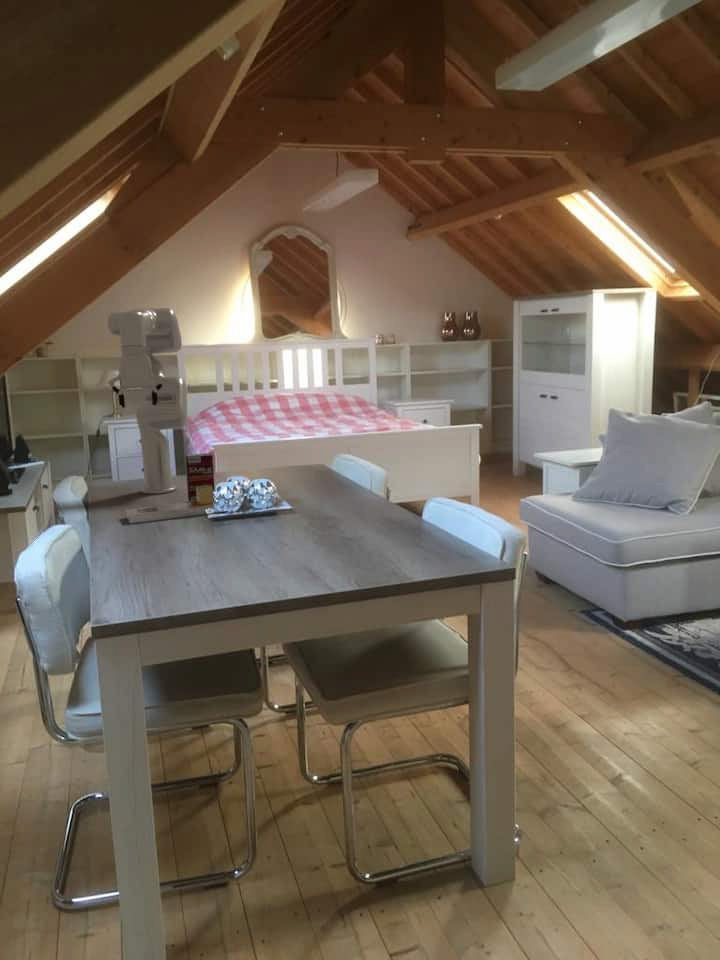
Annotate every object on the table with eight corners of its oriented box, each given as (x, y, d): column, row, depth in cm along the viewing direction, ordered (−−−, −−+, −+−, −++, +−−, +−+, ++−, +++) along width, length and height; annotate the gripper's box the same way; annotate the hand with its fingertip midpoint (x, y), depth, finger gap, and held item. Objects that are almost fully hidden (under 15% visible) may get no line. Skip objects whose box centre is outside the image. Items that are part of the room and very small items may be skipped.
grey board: (126, 517, 252) (125, 509, 251) (221, 506, 263) (221, 498, 262) (130, 523, 243) (129, 514, 243) (228, 511, 254) (227, 503, 254)
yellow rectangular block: (197, 510, 258) (195, 486, 256) (211, 509, 259) (209, 484, 258) (200, 513, 254) (198, 488, 252) (214, 511, 255) (212, 486, 254)
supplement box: (190, 504, 268) (186, 456, 265) (188, 501, 272) (184, 454, 269) (216, 501, 270) (212, 454, 267) (214, 498, 275) (210, 452, 272)
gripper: (160, 350, 261) (164, 403, 264) (104, 352, 254) (109, 407, 258) (164, 350, 254) (168, 405, 257) (106, 353, 247) (111, 409, 251)
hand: (138, 406), depth 257 cm, fingers open, 9 cm apart
